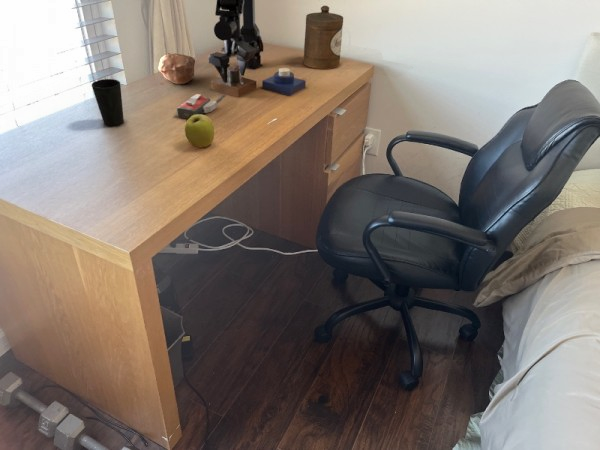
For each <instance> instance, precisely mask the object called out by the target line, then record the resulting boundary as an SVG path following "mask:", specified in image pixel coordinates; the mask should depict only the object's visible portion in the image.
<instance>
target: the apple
mask: <svg viewBox="0 0 600 450" xmlns="http://www.w3.org/2000/svg"><path fill="white" fill-rule="evenodd" d="M184 135H185V137H186V140H187V141H188V142H189V144H190V145H191V146H195V147H197V148H206V147H208V146H210V145H211V144H212V143H213V141H214V139H215V126H214V123H213V121H212V120H211V119H210V117H208V116H207V115H204V114H201V115H193V116H191V117H190V118H189V119H188V118H187V120H186V122H185V125H184Z"/></svg>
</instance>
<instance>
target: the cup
mask: <svg viewBox="0 0 600 450" xmlns="http://www.w3.org/2000/svg"><path fill="white" fill-rule="evenodd" d="M121 87H122V86H121V82H120V81H119V80H117V79H114V78H104V79H98V80H96V81H93V82H92V83H91V88H92V91H93V94H94V97H95V100H96V104H97V106H98V109H99V113H100V115H101V119H102V121H103V124H104V126H105V127H108V128H116V127H120V126H122V125H124V123H125V121H124V119H125V118H124V110H123V109H124V107H123V99H122V98H123V97H122V88H121Z"/></svg>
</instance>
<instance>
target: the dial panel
mask: <svg viewBox="0 0 600 450" xmlns="http://www.w3.org/2000/svg"><path fill="white" fill-rule="evenodd" d="M211 90H212V91H216V92H219V93H222V94H226V95H229V96H233V97H236V98H240V97H242V96H244V95H247V94H249V93H252V92H254V91H256V90H257V80H254V79H251V78H247V77H244V76H240V81H239V82H237V83H231V82H229V81H228V74H227V83H224V81H223V80H222V78H221V77H218V78H216V79H213V80H211Z"/></svg>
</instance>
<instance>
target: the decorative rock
mask: <svg viewBox="0 0 600 450" xmlns="http://www.w3.org/2000/svg"><path fill="white" fill-rule="evenodd" d="M195 65H196V59H195V58H194V57H192V56H191V55H186V54H181V53H169V52H168V53H167V54H164V55H163V56H162V57H161V58H160V60H159V63H158V66H157V67H158V68H157V69H158V71H159V72H160V73H161V75H162V76H163V77H164V78H165V79H166V80H167V81H170V82H171V83H174V84H176V85H178V84H180V85H181V84H182V85H184V84H185V83H189V82H190V81H192V80H193V78H194V77H195Z"/></svg>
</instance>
